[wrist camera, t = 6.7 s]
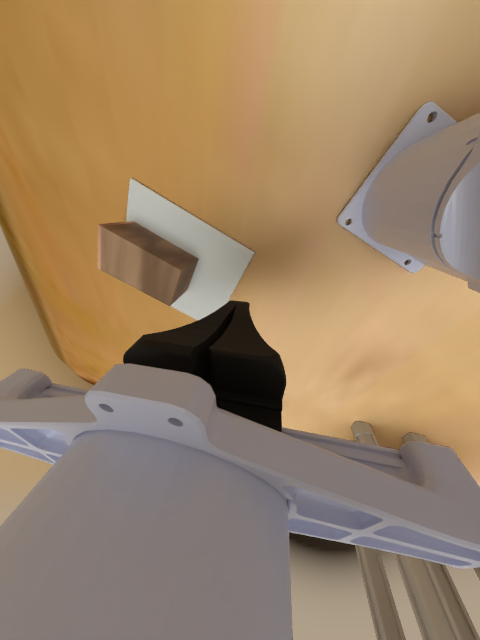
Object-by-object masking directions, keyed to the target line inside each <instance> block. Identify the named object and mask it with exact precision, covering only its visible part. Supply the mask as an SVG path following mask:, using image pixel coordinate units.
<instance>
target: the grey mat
mask: <svg viewBox="0 0 480 640" xmlns="http://www.w3.org/2000/svg"><path fill="white" fill-rule="evenodd" d="M129 221H134V222H135V223H137V224H139V225H141V226H142V227H144V228H146V229H148V230H149V231H151V232H153V233H155V234H156V235H158V236H160V237H162V238H163V239H165V240H167V241H169V242H170V243H172V244H174V245H176V246H177V247H179V248H181V249H183V250H184V251H186V252H188V253H190V254H191V255H193V256H195V257H197V258H198V259H199V260H198V263H197V265H196V268H195V271H194V274H193V276H192V279H191V282H190V284H189V287H188V290H187V291H186V292H185V293H184V294H183V295H181V296H180V297H179V298H178V299H177V300H176V301H175V302H174V303H173V304H172V305H171V307H173V308H175V309H177V310H179V311H181V312H183V313H185V314H187V315H189V316H190V317H192V318H194V319H196V320H200V319H202V318H204V317H206V316H208V315H209V314H211V313H213V312H215V311H216V310H218V309H219V308H221V307H222V306H223V305H225V304H226V303H227V302H228V300H229V298H230V296H231V295H232V293H233V291H234V289H235V287H236V286H237V284H238V282H239V280H240V278H241V277H242V275H243V273H244V271H245V269H246V267H247V266H248V264H249V262H250V260H251V258H252V257H253V255H254V253H255V252H254V251H252V250H250V249H249V248H247V247H245V246H244V245H242V244H240V243H239V242H237V241H235V240H234V239H232V238H230V237H229V236H227V235H225V234H224V233H222V232H220V231H219V230H217V229H216V228H214V227H212V226H211V225H209V224H207V223H206V222H204V221H202V220H201V219H199V218H197V217H196V216H194V215H192V214H191V213H189V212H187V211H186V210H184V209H182V208H181V207H179V206H177V205H176V204H174V203H172V202H171V201H169V200H168V199H166V198H164V197H163V196H161V195H159V194H158V193H156V192H154V191H153V190H151V189H149V188H148V187H146V186H144V185H143V184H141V183H139V182H138V181H136V180H134V179H133V178H130V185H129V196H128V206H127V217H126V222H129Z"/></svg>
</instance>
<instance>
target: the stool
mask: <svg viewBox="0 0 480 640" xmlns="http://www.w3.org/2000/svg"><path fill="white" fill-rule="evenodd" d="M351 429H352V432H353V434H354V437H355V440H356V442H361V443H366V444H371V445H376V446H379V444H378V442H377V440H376V437H375V435H374V433H373V431H372V428H371V426H370V424H369V423H364V422H359V421H356V422H355V423H354V424H353V425H352V426H351ZM403 440H404V442H405V443H406V442H410V441H419V442H425V443H429V442H428V441H427V439H426V438H425V436H424V435H420V434H416V433H411V432H410V433H408V434H407V435H406V436H404V437H403ZM355 547H356V551H357V556H358V560H359V564H360V568H361V572H362V577H363V581H364V586H365V590H366V594H367V598H368V603H369V607H370V611H371V616H372V620H373V624H374V629H375V633H376V637H377V640H406V639H405V636H404V632H403V629H402V626H401V623H400V619H399V616H398V612H397V609H396V606H395V602H394V599H393V596H392V592H391V589H390V585H389V582H388V579H387V575H386V572H385V569H384V565H383V562H382V559H381V555H380V552H379V550H378V549H373V548H368V547H363V546H358V545H355ZM394 555H395V558H396V561H397V564H398V567H399V570H400V573H401V576H402V579H403V582H404V585H405V588H406V591H407V593H408V597H409V600H410V602H411V605H412V609H413V611H414V614H415V617H416V620H417V623H418V626H419V629H420V632H421V635H422V638H423V640H480V638H479V636H478V634H477V632H476V629H475V627H474V625H473V623H472V621H471V619H470V617H469V614H468V612H467V610H466V608H465V606H464V604H463V602H462V600H461V598H460V595H459V593H458V591H457V589H456V587H455V585H454V583H453V581H452V578H451V576H450V574H449V572H448V570H447V568H446V566H445V565H443V564H440V563H436V562H432V561H428V560H424V559H419V558H415V557H410V556H406V555H402V554H397V553H394ZM474 570H475V572H476V574H477V576H478V577H479V579H480V567H478V568H474Z"/></svg>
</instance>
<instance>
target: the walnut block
mask: <svg viewBox="0 0 480 640" xmlns="http://www.w3.org/2000/svg"><path fill="white" fill-rule="evenodd" d="M198 260H199V259H198V258H197V257H195V256H193V255H191V254H190V253H188V252H186V251H184V250H183V249H181V248H179V247H177V246H176V245H174V244H172V243H170V242H169V241H167V240H165V239H163V238H162V237H160V236H158V235H156V234H155V233H153V232H151V231H149V230H148V229H146V228H144V227H142V226H141V225H139V224H137V223H135V222H134V221H129V222H118V223H108V224H98V269H100V270H102V271H104V272H105V273H107V274H109V275H111V276H113V277H115V278H117V279H119V280H121V281H123V282H125V283H126V284H128V285H130V286H132V287H134V288H136V289H138V290H140V291H142V292H144V293H146V294H147V295H149V296H151V297H153V298H155V299H157V300H159V301H161V302H163V303H165V304H167V305H168V306H171V305H172V304H173V303H174V302H175V301H176V300H177V299H178V298H179V297H180V296H181V295H183V294H184V293H185V292H186V291H187V290H188V287H189V284H190V282H191V279H192V276H193V274H194V271H195V268H196V265H197V263H198Z"/></svg>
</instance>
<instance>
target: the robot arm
mask: <svg viewBox="0 0 480 640" xmlns="http://www.w3.org/2000/svg"><path fill="white" fill-rule="evenodd" d="M429 114H432V115H433V119H432V121H431V122H430V123H428V121H427V118H428V116H429ZM348 219H350V224H348V225H346V224H345V222H346V220H348ZM337 223H338V224H339V225H340V226H342V227H343V228H345V229H346V230H348V231H349V232H351V233H352V234H354V235H355V236H357V237H358V238H360V239H361V240H363V241H364V242H365V243H367V244H368V245H370V246H371V247H373V248H374V249H376V250H377V251H379V252H380V253H382V254H383V255H385V256H386V257H388V258H389V259H391V260H392V261H394V262H395V263H397V264H398V265H400V266H401V267H403V268H404V269H406V270H407V271H409V272H411V273H415V272H417V271H419V270H420V269H421V268H423V267H424V266H425V265H426V266H429V267H432V268H434V269H437V270H439V271H442V272H444V273H447V274H450V275H452V276H455V277H457V278H460V279H462V280H465V281H467V282H468V288H470V289H472V290H474V291H477V292H479V293H480V113H478V114H475V115H473V116H471V117H469V118H467V119H465V120H463V121H460V122H456V121H455V120H454V119H453V118H452V117H451V116H449V115H448V114H447V113H446V112H445V111H444V110H442V109H441V108H440V107H439V106H438V105H437V104H435V103H434V102H432V101H431V102H427V103H426V104H424V105H423V106H421V107H420V108H419V109H418V110H417V112H416V113H415V114H414V116H413V117H412V118H411V120H410V121H409V122H408V124H407V125H406V126H405V128H404V129H403V130H402V132H401V133H400V134H399V136H398V137H397V138H396V140H395V141H394V142H393V144H392V145H391V146H390V148H389V149H388V150H387V152H386V153H385V154H384V156H383V157H382V158H381V160H380V161H379V163H378V164H377V165H376V167H375V168H374V169H373V171H372V172H371V173H370V175H369V176H368V177H367V179H366V180H365V181H364V183H363V184H362V185H361V187H360V188H359V189H358V191H357V192H356V193H355V195H354V196H353V197H352V199H351V200H350V201H349V203H348V204H347V205H346V207H345V208H344V209H343V211H342V212H341V213H340V215H339V216H338V218H337ZM406 260H408V262H407V263H406V264H404V262H405V261H406ZM123 362H124V364H116V365H115V366H114V367H113V368H112V369H111V370H110V371H109V372H108V373H107V374H106V375H105V376H103V377H102V378H101V379H100V380H99V381H98V382H97V383H96V384H95V385H94V386H93V387H92V388H91V389H90V390H85V389H80V388H75V387H70V386H65V385H60V384H54V383H52V381H51V380H50V378H49V377H48V376H47V375H46V374H44V373H42V372H39V371H34V370H29V369H19V370H18V371H16V372H15V373H13V374H11V375H10V376H8V377H6V378H5V379H3V380H2V381H0V448H3V449H7V450H11V451H14V452H17V453H20V454H24V455H27V456H30V457H33V458H36V459H39V460H42V461H45V462H48V463H51V464H53V466H52V467H51V468H50V470H49V471H48V472H47V473H46V474H45V475H44V476H43V478H42V479H41V480H40V481H39V482H38V483H37V485H36V486H35V487H34V488H33V489H32V490H31V491H30V493H29V494H28V495H27V496H26V497H25V498H24V500H23V501H22V502H21V503H20V504H19V505H18V506H17V508H16V509H15V510H14V511H13V512H12V513H11V515H10V516H9V517H8V518H7V519H6V520H5V522H4V523H3V524H2V525H1V526H0V640H293V633H292V606H291V580H290V553H289V532H292V533H298V534H303V535H308V536H313V537H318V538H323V539H328V540H333V541H338V542H343V543H348V544H353V545H358V546H363V547H368V548H373V549H378V550H383V551H388V552H393V553H397V554H402V555H406V556H410V557H415V558H419V559H424V560H428V561H432V562H436V563H440V564H443V565H448V566H451V567H455V568H460V569H463V568H478V567H480V487H479V485H478V484H477V483H476V481H475V480H474V478H473V477H472V476H471V474H470V473H469V472H468V470H467V469H466V467H465V466H464V465H463V463H462V462H461V461H460V459H459V458H458V456H457V455H456V454H455V452H454V451H453V450H452V448H449V447H447V446H441V445H436V444H430V443H425V442H419V441H410V442H406V443H404V444H403V445H402V446H401V447H400V449H399V450H397V449H392V448H387V447H381V446H376V445H371V444H366V443H361V442H355V441H350V440H345V439H340V438H335V437H329V436H324V435H319V434H314V433H309V432H304V431H298V430H293V429H288V428H283V427H282V421H281V411H282V398H283V395H284V391H285V387H286V375H285V370H284V367H283V363H282V360H281V358H280V355H279V354H278V353H277V352H276V351H275V350H273V349H272V348H271V347H270V346H269V345H268V344H267V343H266V342H265V341H264V340H263V338H262V337H261V336H260V334H259V333H258V331H257V330H256V328H255V326H254V324H253V321H252V319H251V316H250V312H249V303H248V302H241V301H229V302H228V303H226V304H225V305H223V306H222V307H221V308H219V309H218V310H216V311H215V312H213V313H211V314H209V315H208V316H206V317H204V318H202V319H200V320H198V321H196V322H193V323H191V324H188V325H185V326H182V327H179V328H176V329H172V330H168V331H164V332H158V333H153V334H147V335H143V336H142V337H141V338H140V339H139V340H138V341H137V342H136V343H135V344H134V345H133V346H131V347H130V348H129V349H128V350H127V351H126V353H125V354H124V357H123Z"/></svg>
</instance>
